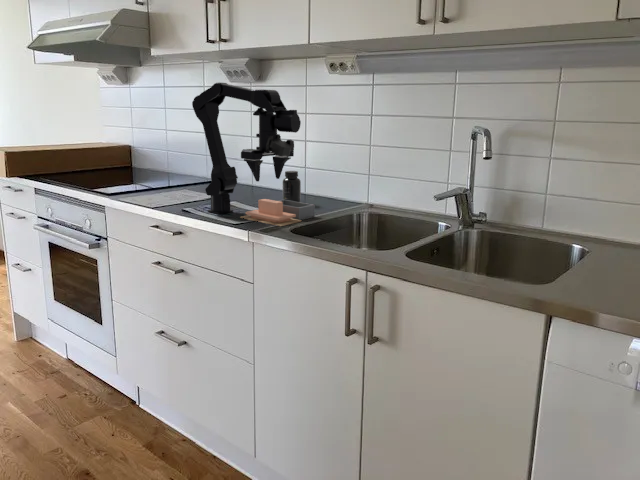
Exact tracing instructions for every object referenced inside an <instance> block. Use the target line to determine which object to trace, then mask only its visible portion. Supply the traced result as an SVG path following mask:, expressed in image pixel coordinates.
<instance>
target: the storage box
mask: <svg viewBox="0 0 640 480" xmlns="http://www.w3.org/2000/svg"><path fill="white" fill-rule="evenodd" d="M278 201H280V202H283V212H286V213H291V214H296V217H293V219H298V220H300V219H302V220H305V219H304V218H306V219H309V217H310V218H313V217H312V216H316V215H315V213H316V212H315V209H316V205H315V204H311V203H306V202H302V201H301V202H295V201H290V200H283V199H280V200H278Z"/></svg>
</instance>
